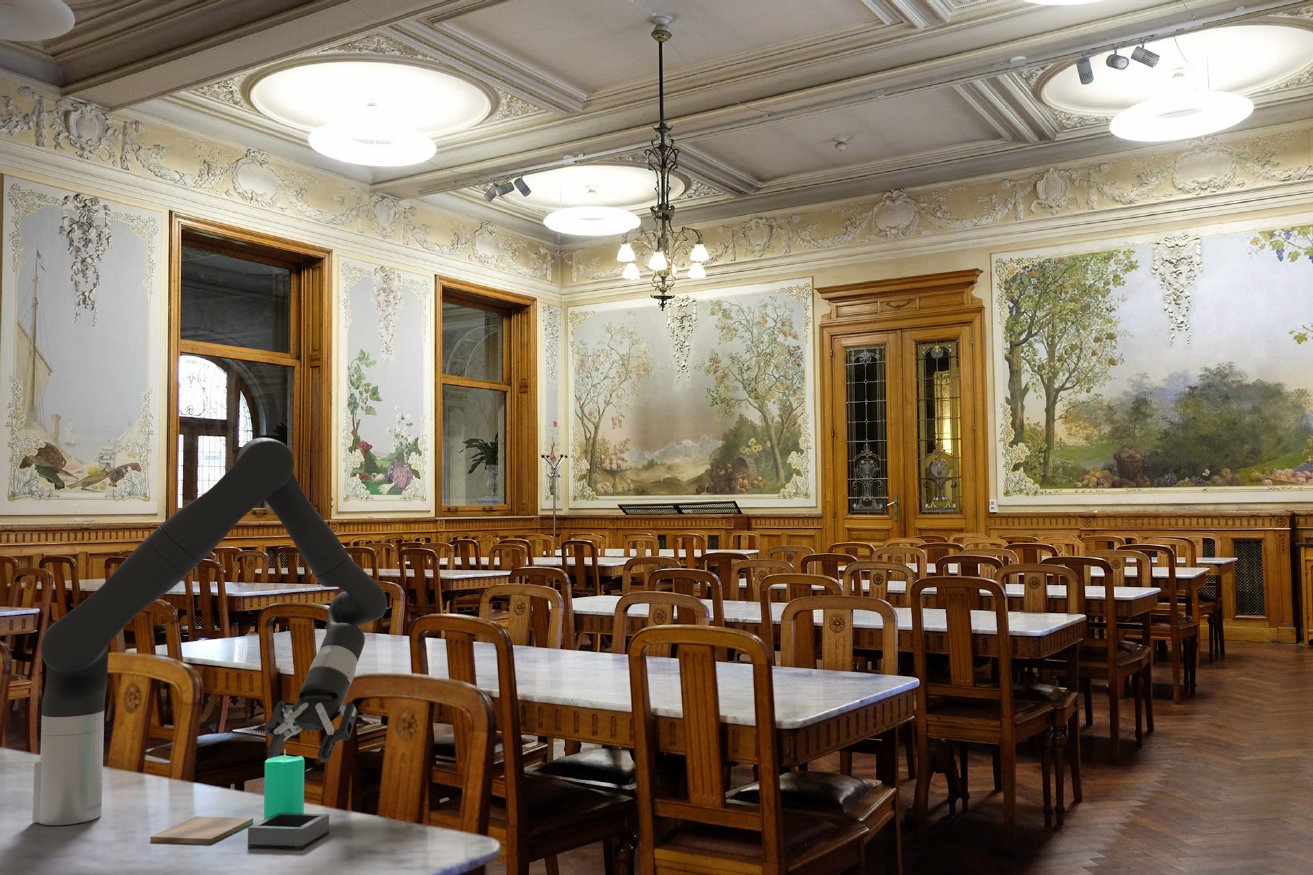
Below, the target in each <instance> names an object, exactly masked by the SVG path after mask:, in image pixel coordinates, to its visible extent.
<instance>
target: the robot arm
mask: <svg viewBox="0 0 1313 875" xmlns="http://www.w3.org/2000/svg"><path fill="white" fill-rule="evenodd" d="M294 470H295V459H294V455H293V452H292V451H291V449H290V447H289V446H287V445H286V444H285V443H283V442H281V441H279V440H277V439H274V438H270V437H257V438H253V439H251V440H249V441H247V442H245V444H244V445H242V446H241V448H240V449H239V451H238V454H237V457H236V461H235V462H234V463H233V465H232V466H231V467H230V468H229V470H228V471H227V472H226V473H225V474H224V475H223V476H222V477H221V478H220V479H219V480H218V481H217V482H216V483H215V484H214V485H213V486H212V487H211V488H209V489H208V490H207V491H206V492H204V493H203V494H201V495H200V496H198V497H197V498H196V499H194V500H192V501H191V502H189V503H188V504H186V505H185V506H184V507H181V509H179V510H178V511H176V512H175V513H173V515H171V516H170V517H168V518H167V519H166V520H165V521H164V522H162V523H161V524H160V525H159V526H158V527H157V528H156V529H154V530H153V532H151V533H150V534H148V536H147V537H146V538H145V539H144V540H143V541H142V542H140V544H139V545H138V546H136V548H135V549H134V550H133V551H132V552H131V553H130V554H129V555H128V556H127V557H126V558H125V560H123V561H122V563H121V564H119V566H118V567H117V568H116V569H115V571H113V573H112V574H111V575H110V576H109V578H107V580H106V581H105V582H104V583H103V584H102V585H101V586H100V587H99V588H98V589H96V590H95V591H94V592H93V593H92V594H91V595H90V596H88V597H87V598H85V600H83V601H82V602H81V603H79V604H78V605H77V606H76V607H75V608H73V609H72V610H70V611H69V612H68V613H66V614H64V616H62V617H61V618H60V619H57V620H56V621H55V622H53V623H52V624H50V626H49V627H48V628H46V630H45V632H44V633H43V635H42V638H41V642H40V655H41V658H42V660H43V662H44V663H45V665H46V679H45V680H46V681H45V687H44V692H43V693H44V694H43V697H42V701H41V725H40V726H41V728H40V729H41V730H40V731H41V732H40V753H39V754H40V758H39V759H40V760H38V761H36V762H35V763H34V765H33V768H34V769H33V791H32V793H33V796H32V820H31V822H32V823H38V824H40V825H44V826H62V825H63V826H65V825H66V826H67V825H75V824H79V823H85V822H89V821H92V820H95V819H98V818H99V817H101V816H102V808H103V807H102V806H103V805H102V801H103V799H102V798H103V774H104V773H103V770H104V739H105V738H104V735H105V734H104V732H105V726H104V725H105V706H106V704H105V702H106V695H107V689H108V675H109V674H108V668H109V647H110V645H109V644H110V643H111V642H112V641H113V640H114V639H115V637H116V636H117V635H118V634H119V633H120V632H121V631H122V630H123V629H124V628H125V627H126V625H128V623H130V621H132V620H133V619H134V618H135V617H136V616H137V615H138V614H139V613H141V612H142V611H143V610H145V609H146V608H148V607H149V606H150V605H152V604H154V603H155V602H156V601H157V600H159V599H161V598H162V597H163V596H164V595H165V594H167V593H168V592H170V590H172V589H173V588H174V587H175V586H177V584H180V582H181V581H182V580H184V579H185V578H186V577H187V576H188V575H189V574H190V573H191V572H192V571H193V570H195V569H196V568H197V567H198V566H199V565H200V563H202V562H203V561H204V560H205V559H206V557H208V556H209V554H210V553H211V552H212V551H214V549H215V548H217V546H218V545H219V544H220V543H221V542H222V541H223V540H224V539H225V538H226V537H227V535H229V533H230V532H231V531H232V530H233V528H234V527H235V526H236V525H237V524H238V523H239V522H240V521H241V520H242V519H243V518H245V516H246V515H248V513H250V512H251V511H252V510H253V509H255V508H256V507H257V506H258V505H260V504H261V503H262V502H264V501H265V503H266V504H267V505H268V506H269V507H270V509H271V510H272V512H273V513H274V514H275V515H276V518H278V520H279V521H280V522H281V524H282V526H283V527H284V529H285V531H286V532H287V534H288V536H289V537H290V539H291V540H292V542H293V543H294V546H295V547H296V549H297V552H299V553H300V556H301V557H302V558H303V560H304V562H305V563H306V565H307V567H308V568H309V570H310V571H311V572H312V574H313V576H314V577H315V578H316V580H317V581H318V583H319V584H320V585H321V586H322V587H325V588H340V589H341V590H342V592H340V593H338V594H337V595H336V596H335V597H334V599H333V600H332V601H331V602H330V605H329V607H328V612H327V621H326V634H325V636H324V638H323V640H322V643H321V644H320V645H321V646H320V647H319V650H318V652H317V654H316V656H315V657H314V658H313V660H312V663H311V665H310V667H309V670H308V672H307V674H306V677H305V679H304V682H303V684H302V685H301V688H300V691H299V695H298V698H297V701H296V702H295V703H294V704H286V703H285V701H284V700H281V701H278V702H277V703H276V706H275V708H274V710H273V712H272V714H271V715H270V718H269V720H268V722H267V723H266V726H265V728H264V730H265V732H266V734H267V735H268V736H269V738H270V739H271V740H270V743H269V746H268V749H267V754H268V755H269V759H270V758H273V757H278V756H281V753H282V751H283V749H284V747H285V743H286V742H285V741H287V740H288V739H289V738H290V737H292V736H296V735H297V734H299V733H300V732H301V731H303V732H305V731H316V732H317V731H319V732H320V731H322V730H323V729H325V732H326V734H327V735H324V737H323V740H322V741H321V745H320V747H319V750H318V753H317V758H318V760H319V761H320V762H321V763H326V762H327V760H329V759H330V758H331V756H332V754H333V751H334V749H335V746H336V744H337V743H338V742H339V741H342V740H343V741H348V740H350V739H351V735H352V732H353V728H354V725H355V723H356V718H357V716H358V711H357V708H356V707H355V705H354V703H353V702H352V701H348V702H347V703H346V705H344V703H345V700H346V697H347V695H348V693H349V689H350V687H351V685H352V682H353V681H354V677H355V673H356V669H357V665H358V662H359V660H360V657H361V654H362V652H363V649H364V646H365V642H366V637H365V634H364V631H363V630H362V629H361V628H359V627H361V626H363V625H367V624H370V623H372V622H374V621H377V620H379V619H381V618H382V617H383V616H384V615H385V614H386V612H387V609H388V599H387V596H386V593H385V592H384V589H383V588H382V586H381V585H380V584H379V583H378V582H377V581H376V580H375V579H374V578H372V577H371V576H370V575H369V574H368V573H367V572H366V571H365V570H364V569H363V568H362V567H360V565H358V564H357V563H356V562H355V561H353V559H352V558H351V556H350V555H349V553H348V551H347V549H345V546H344V545H343V543H342V542H341V540H340V539H339V538H338V536H337V535H336V534H335V532H334V531H333V530H332V528H331V527H330V526H329V524H328V523H327V522H326V521H325V519H324V518H323V516H322V515H321V514H320V513H319V512H318V511H317V509H316V508H315V507H314V504H312V503H311V501H310V500H309V498H308V497H307V496H306V493H305V492H304V490H303V488H302V487H301V486H300V483H299V482H298V480H297V478H296V475H295V473H294ZM340 715H341V717H342V718H341V720H340V723H339V727H338V728H337V729H335V727H334V725H333V722H334V721H335V720H336V719H337V718H339V717H340ZM295 721H296V725H294V722H295Z"/></svg>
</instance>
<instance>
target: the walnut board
mask: <svg viewBox="0 0 1313 875" xmlns="http://www.w3.org/2000/svg"><path fill="white" fill-rule="evenodd" d="M252 825H254V817H228V816H227V817H225V816H199V815H197V816H194V817H192V818H189V819H188V820H187V819H186V820H185V821H183V822H180V823H178V824H175V825H173V826H172V827H169V828H167V829H165V830H163V831H159V832H158V833H156V834H154V835H152V836H150V838H149V840H150V843H163V844H164V843H165V844H166V843H167V844H188V845H189V844H194V845H213V844H214V843H217V842H219V841H220V840H223V839H225V838H226V837H228V836H231V835H233V834H235V833H237V832H239V831H240V830H243V829H244V828H248V827H250V826H252Z"/></svg>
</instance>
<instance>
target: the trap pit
mask: <svg viewBox="0 0 1313 875" xmlns="http://www.w3.org/2000/svg"><path fill="white" fill-rule="evenodd" d="M329 834H330V814H328V813H327V814H326V813H304V814H302V813H276V814H274V815H272V816H270V817H268V818H266V819H264V818H263V819H262V820H260V821H258V822H256V823H253V824H251V825H249V826H247V849H256V850H258V849H260V850H285V851H287V850H289V851H303V850H305V849H307V848H308V847H309V846H311V845H313V844H315V843H317V842H319V841H320V840H322V839H323V838H325V837H327V836H329Z"/></svg>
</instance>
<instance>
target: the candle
mask: <svg viewBox="0 0 1313 875" xmlns="http://www.w3.org/2000/svg"><path fill="white" fill-rule="evenodd" d="M263 791H264V792H263V794H264V795H263V798H264V799H263V800H264V801H263V820H264V819H266V818H268V817H270V816H272V815H274V814H276V813H302V814H305V813H304V812H305V810H304V809H305V758H304V757H303V756H302V755H301V756H291V755H286V749H284V754H283V755H280V756H278V757H273V758H270V757H269V758H267V759H266V760H265V761H264V790H263Z"/></svg>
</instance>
